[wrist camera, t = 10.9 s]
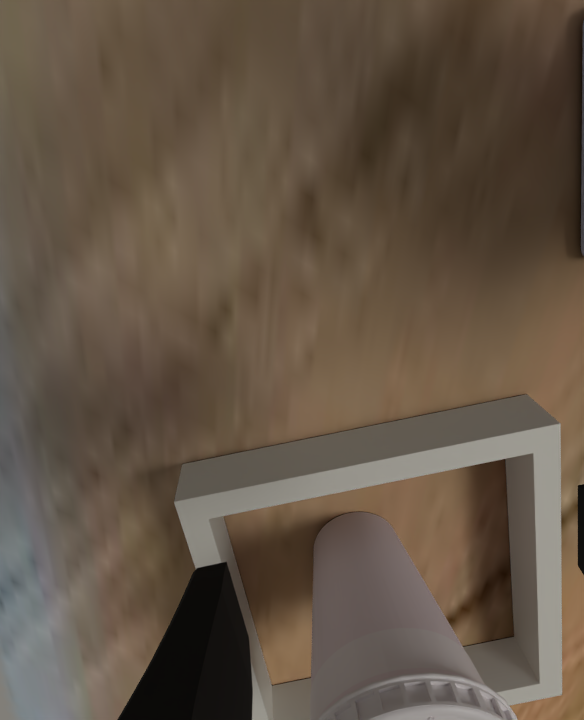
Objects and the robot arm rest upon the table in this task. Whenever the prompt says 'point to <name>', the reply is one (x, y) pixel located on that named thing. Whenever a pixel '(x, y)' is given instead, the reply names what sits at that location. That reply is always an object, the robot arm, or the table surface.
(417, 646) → the smoothie
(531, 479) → the white shallow square frame
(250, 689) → the robot arm
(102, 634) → the table surface
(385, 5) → the table surface
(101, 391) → the table surface
